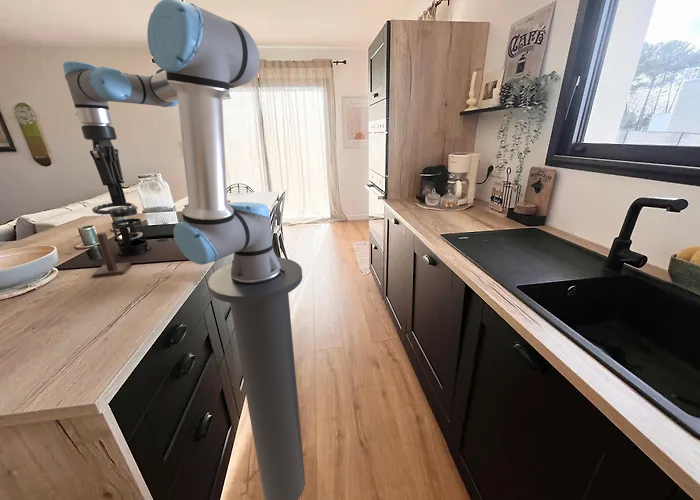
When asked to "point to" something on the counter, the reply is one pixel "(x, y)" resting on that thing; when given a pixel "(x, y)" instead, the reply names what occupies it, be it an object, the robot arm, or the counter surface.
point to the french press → (129, 239)
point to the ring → (105, 212)
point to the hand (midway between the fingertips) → (120, 204)
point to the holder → (109, 259)
